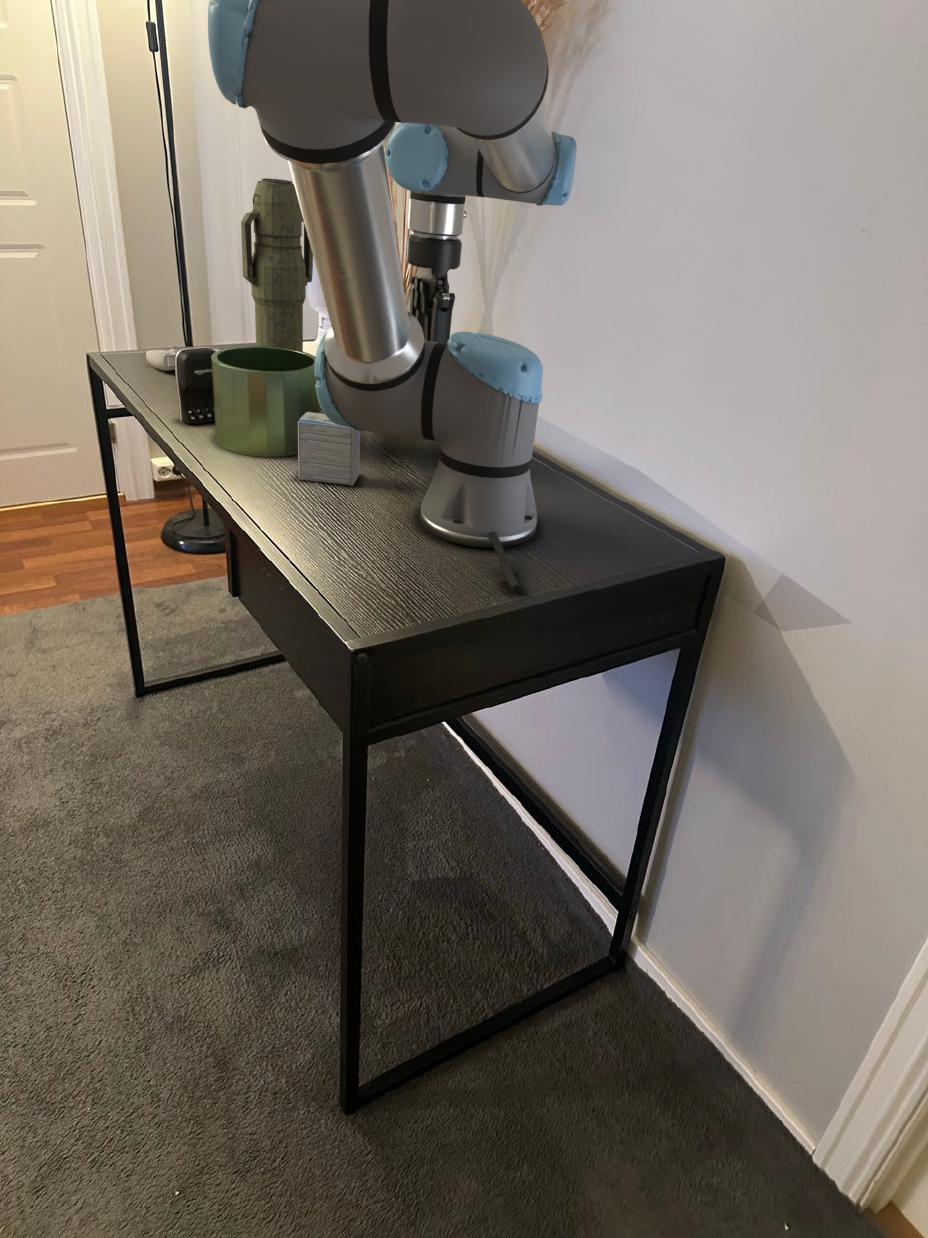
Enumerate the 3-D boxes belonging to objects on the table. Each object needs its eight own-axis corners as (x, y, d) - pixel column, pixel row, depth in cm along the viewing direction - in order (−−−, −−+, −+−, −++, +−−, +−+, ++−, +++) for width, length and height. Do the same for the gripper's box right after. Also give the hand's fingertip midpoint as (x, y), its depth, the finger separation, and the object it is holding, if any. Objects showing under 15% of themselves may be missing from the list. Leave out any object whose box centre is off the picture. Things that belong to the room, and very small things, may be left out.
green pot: (328, 455, 126) (329, 372, 120) (222, 458, 121) (217, 372, 115) (308, 423, 139) (308, 346, 132) (211, 424, 133) (207, 344, 127)
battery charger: (188, 427, 131) (182, 353, 125) (177, 420, 133) (171, 348, 128) (229, 422, 135) (225, 350, 130) (218, 415, 138) (214, 344, 132)
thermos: (237, 399, 146) (227, 175, 129) (294, 391, 154) (292, 178, 136) (264, 413, 141) (258, 181, 123) (322, 404, 148) (324, 184, 131)
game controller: (217, 344, 166) (230, 345, 158) (220, 367, 167) (232, 369, 159) (142, 345, 159) (151, 346, 151) (145, 369, 161) (154, 371, 152)
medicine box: (359, 476, 120) (361, 417, 116) (353, 487, 116) (354, 426, 112) (306, 469, 120) (305, 410, 116) (297, 480, 117) (297, 419, 112)
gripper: (482, 245, 109) (465, 420, 121) (441, 228, 122) (429, 387, 134) (428, 242, 106) (416, 421, 118) (392, 225, 120) (384, 387, 132)
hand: (423, 403), depth 126 cm, fingers closed on bin lid, 4 cm apart
